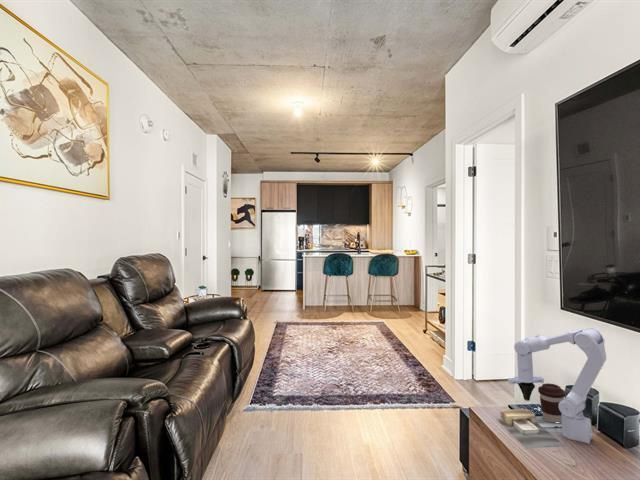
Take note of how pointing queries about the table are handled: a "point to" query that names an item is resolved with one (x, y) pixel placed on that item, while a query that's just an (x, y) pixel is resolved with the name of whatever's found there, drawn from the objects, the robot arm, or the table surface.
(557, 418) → the coffee cup
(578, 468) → the table surface
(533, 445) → the overhang board
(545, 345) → the robot arm
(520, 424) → the tray shell
